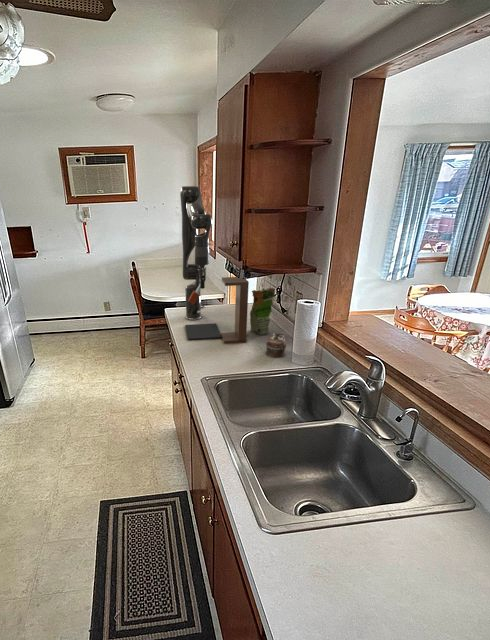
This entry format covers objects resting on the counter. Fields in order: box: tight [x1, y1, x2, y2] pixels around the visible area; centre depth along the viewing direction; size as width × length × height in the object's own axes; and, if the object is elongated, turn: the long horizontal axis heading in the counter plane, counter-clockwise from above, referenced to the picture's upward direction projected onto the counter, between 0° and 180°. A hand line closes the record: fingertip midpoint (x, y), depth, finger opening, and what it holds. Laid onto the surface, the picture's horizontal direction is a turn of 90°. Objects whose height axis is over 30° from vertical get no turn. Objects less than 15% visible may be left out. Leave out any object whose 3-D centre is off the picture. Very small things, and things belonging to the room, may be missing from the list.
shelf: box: [220, 276, 250, 344], centre depth 203 cm, size 12×12×32 cm
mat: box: [185, 322, 222, 341], centre depth 220 cm, size 22×18×1 cm
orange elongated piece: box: [188, 276, 208, 304], centre depth 209 cm, size 4×16×3 cm
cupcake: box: [265, 332, 287, 358], centre depth 188 cm, size 10×10×10 cm
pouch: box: [249, 287, 276, 336], centre depth 212 cm, size 11×12×25 cm
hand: (202, 287), depth 209 cm, fingers closed on orange elongated piece
